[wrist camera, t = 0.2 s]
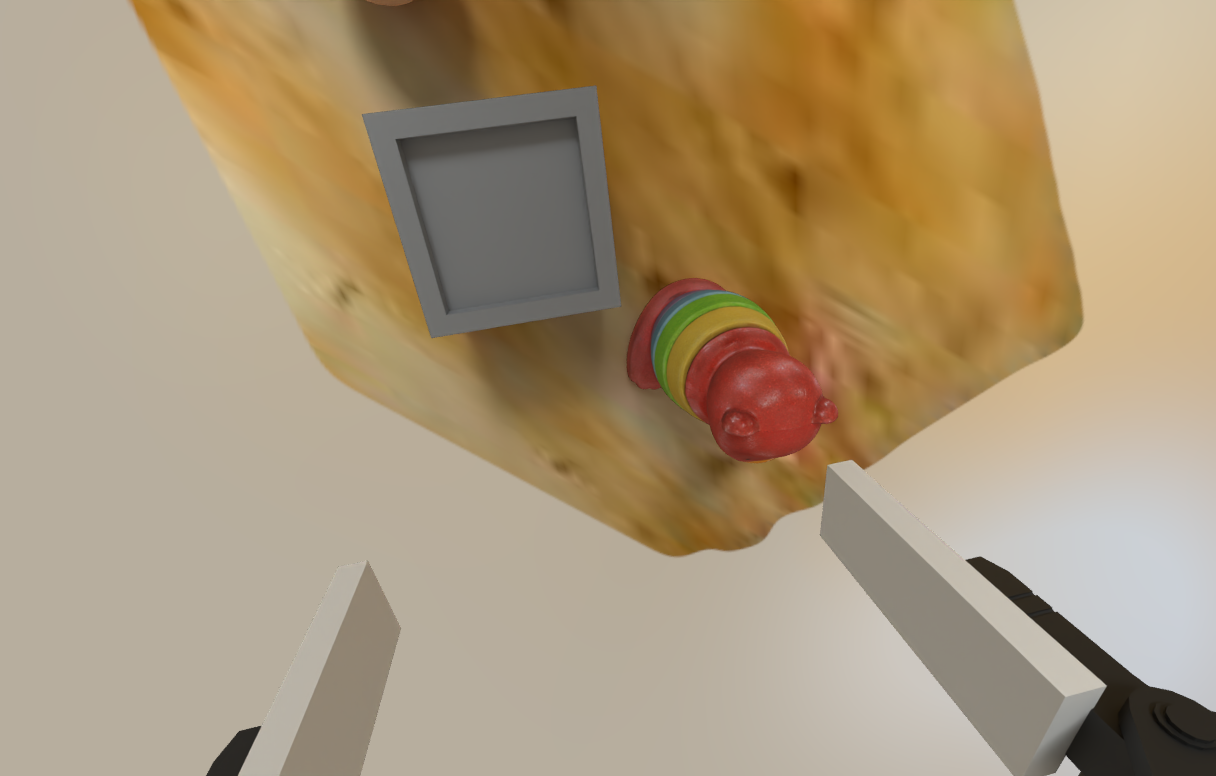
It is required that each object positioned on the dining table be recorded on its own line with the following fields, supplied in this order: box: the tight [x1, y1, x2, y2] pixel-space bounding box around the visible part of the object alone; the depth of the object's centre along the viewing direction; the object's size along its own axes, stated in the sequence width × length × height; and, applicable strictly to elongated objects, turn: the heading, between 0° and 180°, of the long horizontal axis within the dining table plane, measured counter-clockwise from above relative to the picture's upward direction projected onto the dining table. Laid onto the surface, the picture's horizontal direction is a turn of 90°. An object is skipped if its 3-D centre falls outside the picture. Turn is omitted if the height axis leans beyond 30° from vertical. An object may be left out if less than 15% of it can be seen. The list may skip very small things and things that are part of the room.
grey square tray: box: [362, 86, 621, 338], centre depth 30 cm, size 12×12×9 cm
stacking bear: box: [627, 278, 838, 463], centre depth 33 cm, size 11×10×18 cm
